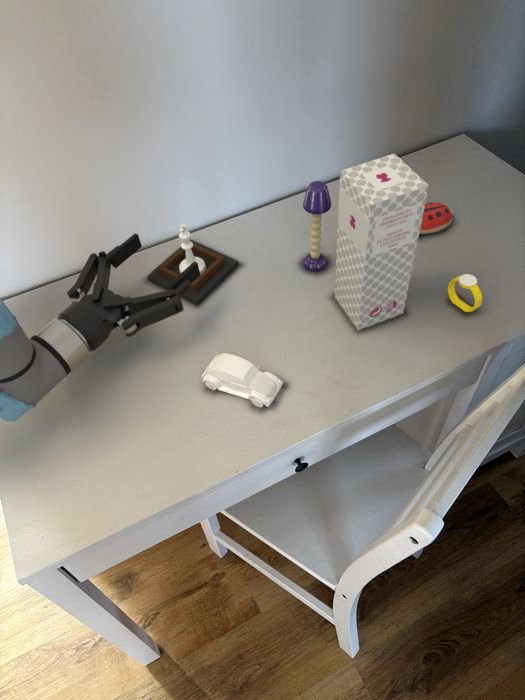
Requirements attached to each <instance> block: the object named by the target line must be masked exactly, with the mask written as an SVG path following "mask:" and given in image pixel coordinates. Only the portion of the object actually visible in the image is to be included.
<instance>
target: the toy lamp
mask: <svg viewBox="0 0 525 700" xmlns="http://www.w3.org/2000/svg"><path fill="white" fill-rule="evenodd" d="M330 195H331V194H330V192H329V187H328V185H327V183H326V182H325V181H322V180H314V181H312V182H310V183H309V184H308V185H307V188H306V192H305V195H304V199H303V203H302V207H303V209H304V210H305V212H307V213H308V214H311V216H310V220H311V223H310V228H311V229H310V236H311V237H310V253H308V254H307V255H306V256H305V257H304V259H303V264H302V265H303V267H304V268H305V269H306V270H307V271H309V272H321V271H322V270H325V268H326V267H327V263H328V262H327V259H326V257H325V255H323V254H322V253H321V245H322V244H321V241H322V237H321V235H322V230H321V228H322V220H323V219H322V218H323V217H322V215H323V214H326V213H327V212H329V211H330V210H331V208H332V201H331V200H332V199H331V196H330Z"/></svg>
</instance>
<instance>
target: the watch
mask: <svg viewBox="0 0 525 700" xmlns="http://www.w3.org/2000/svg"><path fill="white" fill-rule="evenodd" d="M456 282H458V285H459V286H460V287H461V288H463V289H465V290H466V289H467V290H470V292H471V293H472V295H473V299H474V305H473V306H470V304H467V302H464V300H461V299H460V298H459V296H458V295H457V293H456V287H455V285H456ZM477 284H478V278H477V277H475V276H474V275H473V274H470V273H464V274H461V275H457V276H456V277H454V278H453V279H452V280H451V281H449V283H448V284H447V293H448V294H447V295H448V298H449V300H450V301H451V303H452V304H453V305H455V306H456V307H457V308H459V309H461V310H462V311H463V312H464V313H472V312H474V311H475V310H477V309H478V308H479V307H480V306H481V305H482V302H483V295H482V292H481V288H480V287H479V286H478V285H477Z"/></svg>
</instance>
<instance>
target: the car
mask: <svg viewBox="0 0 525 700" xmlns="http://www.w3.org/2000/svg"><path fill="white" fill-rule="evenodd" d="M200 377H201V379H202V380H201V383H204V384H205V386H206V387H207V388H208V389H210V390H212V391H216V390H218V391H221V392H223V393H228V394H231V395H233V396H237V397H240V398H242V399H243V398H244V399H246V400H249V401H251V403H252V404H253V405H254V406H256V407H258V408H263V407H264V406H266V407H267V408H269V407H270V406H271V404H272V403H273V402H274V400H275V398H276V397H277V395H278V393H279V392H280V390H281V388H282V386H283V384H284V381H283V380H281V379H280V377H279V376H277V375H276V374H274V373H272V372H270V371H261V370H260V365H259V366H256V365H255V364H254V363H252V362H250V360H247V359H245V358H243V357H241V356H238V355H235V354H232V353H228V352H222V353H220V354H216V355H215V357H214V358H213V359H212V360H211V361H210V363H209V364H208V366H207V367H206V368H205V370H204V372H203V373H202V375H201V376H200Z"/></svg>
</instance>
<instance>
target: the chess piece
mask: <svg viewBox="0 0 525 700" xmlns="http://www.w3.org/2000/svg"><path fill="white" fill-rule="evenodd" d="M187 229H188V225H186V224H183V223H182V224H181V225H180V229H179V230H178V238H179V239H180V241H181V244H180V247H181V248H182V249H185V252H186V259H184V260H183V261H182V262H181V263H180V266H179V271H180V273H182V272H183V271H184V270H185V269H186V268H187V267H188V266H190V265H191V264H192V263H193V262H194V261H195V262H197V263H198V267H199V271H200V275H201V274H202V273H203V272H204V271H205V269H206V264H205V262H204V261H203V259H201V258H199V257H194V255H193V253H192V250H191V248H192V247H193V243H192V242H191V241H190V239H191V232H190V231H188V230H187Z"/></svg>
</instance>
